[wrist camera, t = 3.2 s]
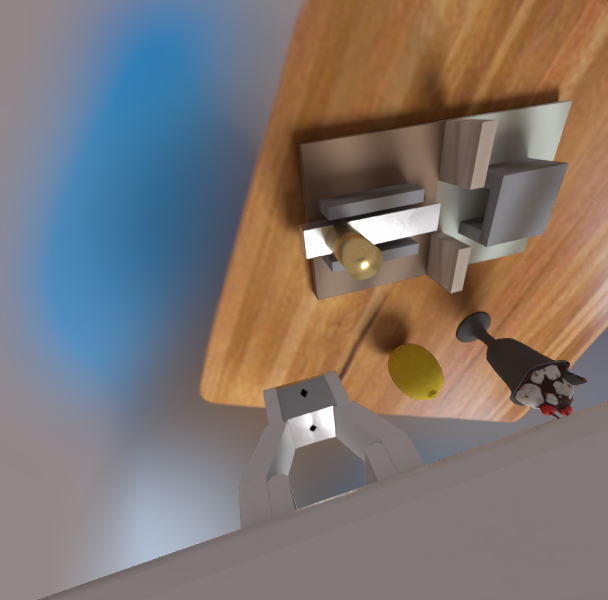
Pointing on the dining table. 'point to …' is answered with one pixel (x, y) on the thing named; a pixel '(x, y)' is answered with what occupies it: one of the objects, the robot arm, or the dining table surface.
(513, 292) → the dining table surface
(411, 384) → the lemon
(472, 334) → the sundae
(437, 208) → the bolt
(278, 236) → the dining table surface
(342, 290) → the lock board
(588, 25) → the dining table surface
